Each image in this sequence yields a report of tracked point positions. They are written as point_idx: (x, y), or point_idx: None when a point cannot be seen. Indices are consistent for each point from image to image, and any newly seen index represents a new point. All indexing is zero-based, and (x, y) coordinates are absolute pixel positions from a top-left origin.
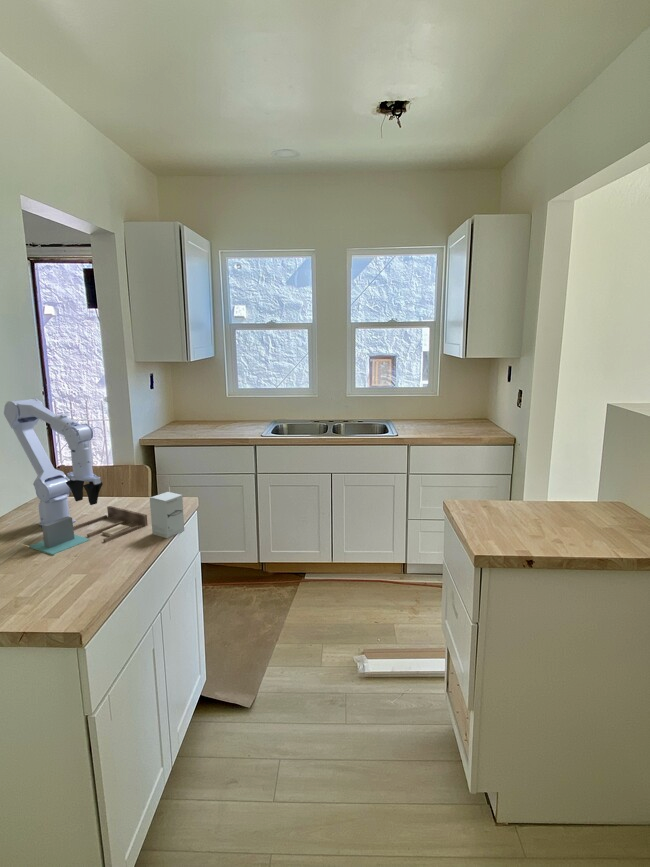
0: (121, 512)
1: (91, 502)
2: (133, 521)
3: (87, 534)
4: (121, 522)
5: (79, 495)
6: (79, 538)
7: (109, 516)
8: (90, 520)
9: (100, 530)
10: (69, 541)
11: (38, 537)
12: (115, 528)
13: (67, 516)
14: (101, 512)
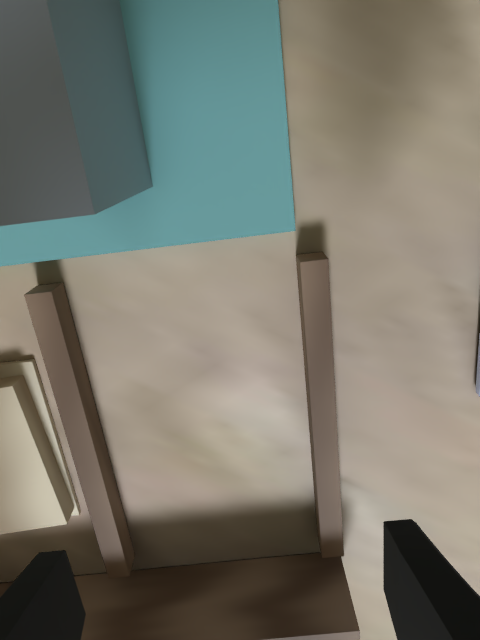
0: (183, 627)
1: (11, 590)
2: None
3: (46, 292)
4: (99, 546)
5: (414, 637)
6: (59, 224)
7: (325, 561)
8: (337, 451)
9: (54, 393)
10: None
11: (443, 16)
12: (7, 471)
13: (80, 209)
14: (477, 571)
